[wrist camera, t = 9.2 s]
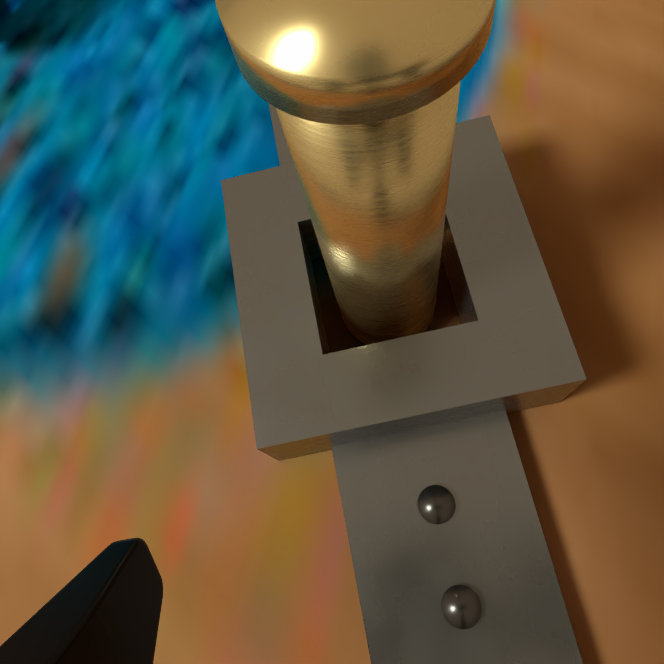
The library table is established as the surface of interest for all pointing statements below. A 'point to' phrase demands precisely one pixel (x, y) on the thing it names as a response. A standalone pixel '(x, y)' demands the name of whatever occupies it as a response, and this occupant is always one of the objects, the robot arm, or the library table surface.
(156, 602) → the robot arm
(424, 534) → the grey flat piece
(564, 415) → the library table surface
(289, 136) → the pin
